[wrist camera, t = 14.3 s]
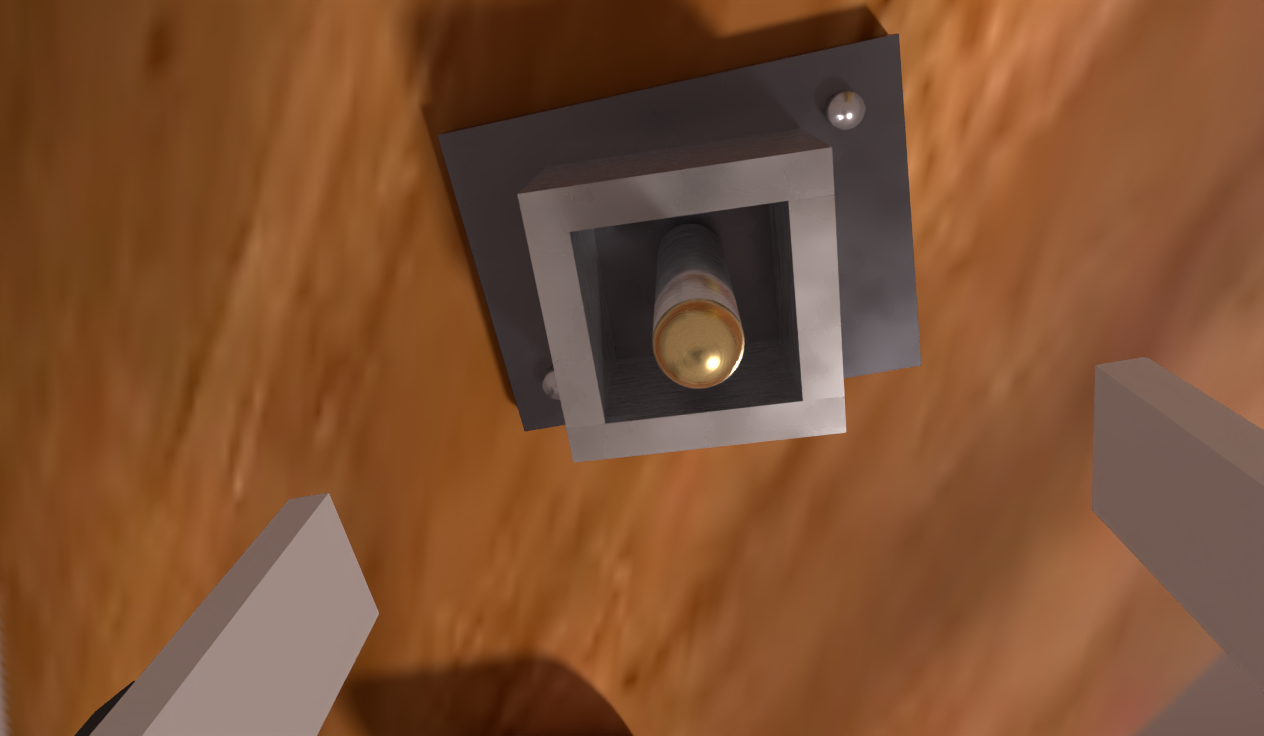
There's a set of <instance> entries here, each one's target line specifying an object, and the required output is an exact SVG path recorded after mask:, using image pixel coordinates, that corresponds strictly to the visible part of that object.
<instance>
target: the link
mask: <svg viewBox="0 0 1264 736" xmlns="http://www.w3.org/2000/svg"><path fill="white" fill-rule="evenodd" d="M517 195H518V199H519V204H520V209H521V214H522V219H523V223H524V228H525V233H526V238H527V242H528V247H529V252H530V257H531V262H532V266H533V271H534V276H535V281H536V286H537V290H538V295H539V300H540V305H541V309H542V314H543V319H544V324H545V329H546V333H547V338H548V343H549V348H550V353H551V357H552V362H553V367H554V372H555V376H556V381H557V386H558V391H559V396H560V400H561V405H562V410H563V415H564V420H565V424H566V429H567V434H568V439H569V443H570V448H571V453H572V458H573V463H574V462H583V461H592V460H601V459H610V458H619V457H628V456H637V455H646V454H655V453H664V452H673V451H683V450H692V449H701V448H710V447H719V446H728V445H737V444H746V443H755V442H764V441H773V440H782V439H791V438H800V437H809V436H818V435H827V434H836V433H845V432H846V419H845V398H844V378H843V358H842V337H841V317H840V297H839V277H838V256H837V236H836V216H835V195H834V175H833V155H832V147H831V146H829V145H828V144H826V143H824V142H823V141H821V140H819V139H818V138H816V137H814V136H813V135H811V134H809V133H808V132H806V131H805V130H803V129H801V128H798V129H792V130H785V131H779V132H772V133H766V134H759V135H752V136H746V137H739V138H733V139H726V140H720V141H713V142H707V143H700V144H693V145H687V146H680V147H674V148H667V149H661V150H654V151H647V152H641V153H634V154H628V155H621V156H615V157H608V158H601V159H595V160H588V161H582V162H575V163H569V164H562V165H555V166H549V167H546V168H545V169H544V170H542V171H541V172H540V173H539V174H538V175H537V176H536V177H535V178H534V179H533V180H532V181H531V182H530V183H529V184H528V185H527V186H526V187H524V188H523V189H522V190H521V191H520V192H519V193H518V194H517ZM768 203H769V214H770V227H771V239H772V251H773V263H774V275H775V287H776V299H777V311H778V323H779V335H780V340H774V341H765V342H757V343H749V344H745V348H744V353H743V356H742V359H741V362H740V364H739V366H738V367H737V369H736V370H735V371H734V372H733V373H732V375H731V376H729V377H728V378H727V379H726V380H724V381H723V382H721V383H719V384H717V385H715V386H712V387H708V388H689V387H685V386H682V385H679V384H678V383H676V382H674V381H673V380H671V379H670V378H668V377H667V376H666V375H665V374H664V373H663V371H662V370H661V369H660V367H659V365H658V364H657V362H656V359H655V357H654V355H653V356H645V357H637V358H629V359H620V360H616V355H615V349H614V343H613V337H612V332H611V326H610V320H609V314H608V309H607V303H606V297H605V291H604V286H603V280H602V274H601V268H600V263H599V257H598V251H597V245H596V240H595V234H594V228H600V227H607V226H614V225H621V224H628V223H635V222H642V221H649V220H656V219H663V218H670V217H677V216H684V215H691V214H698V213H705V212H712V211H719V210H726V209H733V208H740V207H747V206H754V205H761V204H768Z"/></svg>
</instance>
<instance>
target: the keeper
mask: <svg viewBox="0 0 1264 736" xmlns="http://www.w3.org/2000/svg"><path fill="white" fill-rule="evenodd" d="M798 128H801V129H803V130H805V131H806V132H808V133H809V134H811V135H813V136H814V137H816V138H818V139H819V140H821V141H823V142H824V143H826V144H828V145H829V146H831V147H832V155H833V175H834V195H835V216H836V236H837V256H838V277H839V297H840V317H841V337H842V358H843V378H848V377H854V376H860V375H866V374H872V373H878V372H884V371H890V370H896V369H902V368H908V367H914V366H920V365H921V356H920V341H919V326H918V311H917V296H916V282H915V267H914V252H913V237H912V222H911V208H910V193H909V178H908V163H907V148H906V134H905V119H904V104H903V89H902V74H901V60H900V45H899V34H888V35H884V36H879V37H875V38H870V39H866V40H861V41H857V42H852V43H847V44H843V45H838V46H834V47H829V48H825V49H820V50H816V51H811V52H807V53H802V54H798V55H793V56H789V57H784V58H779V59H775V60H770V61H766V62H761V63H757V64H752V65H748V66H743V67H739V68H734V69H730V70H725V71H721V72H716V73H712V74H707V75H702V76H698V77H693V78H689V79H684V80H680V81H675V82H671V83H666V84H662V85H657V86H653V87H648V88H644V89H639V90H634V91H630V92H625V93H621V94H616V95H612V96H607V97H603V98H598V99H594V100H589V101H585V102H580V103H576V104H571V105H566V106H562V107H557V108H553V109H548V110H544V111H539V112H535V113H530V114H526V115H521V116H517V117H512V118H508V119H503V120H499V121H494V122H489V123H485V124H480V125H476V126H471V127H467V128H462V129H458V130H453V131H449V132H445V133H442V134H440V135H437V136H438V139H439V143H440V146H441V150H442V153H443V156H444V160H445V163H446V166H447V170H448V173H449V177H450V180H451V183H452V187H453V190H454V194H455V197H456V200H457V204H458V207H459V210H460V214H461V217H462V221H463V224H464V227H465V231H466V234H467V238H468V241H469V244H470V248H471V251H472V255H473V258H474V261H475V265H476V268H477V271H478V275H479V278H480V282H481V285H482V288H483V292H484V295H485V299H486V302H487V305H488V309H489V312H490V316H491V319H492V322H493V326H494V329H495V332H496V336H497V339H498V343H499V346H500V349H501V353H502V356H503V360H504V363H505V366H506V370H507V373H508V376H509V380H510V383H511V387H512V390H513V393H514V397H515V400H516V404H517V407H518V410H519V414H520V417H521V421H522V424H523V427H524V431H530V430H536V429H542V428H548V427H554V426H560V425H566V424H565V420H564V415H563V410H562V405H561V400H560V396H559V391H558V386H557V381H556V376H555V372H554V367H553V362H552V357H551V353H550V348H549V343H548V338H547V333H546V329H545V324H544V319H543V314H542V309H541V305H540V300H539V295H538V290H537V286H536V281H535V276H534V271H533V266H532V262H531V257H530V252H529V247H528V242H527V238H526V233H525V228H524V223H523V219H522V214H521V209H520V204H519V199H518V195H517V194H518V193H519V192H520V191H521V190H522V189H523V188H524V187H526V186H527V185H528V184H529V183H530V182H531V181H532V180H533V179H534V178H535V177H536V176H537V175H538V174H539V173H540V172H541V171H542V170H544V169H545V168H546V167H549V166H555V165H562V164H569V163H575V162H582V161H588V160H595V159H601V158H608V157H615V156H621V155H628V154H634V153H641V152H647V151H654V150H661V149H667V148H674V147H680V146H687V145H693V144H700V143H707V142H713V141H720V140H726V139H733V138H739V137H746V136H752V135H759V134H766V133H772V132H779V131H785V130H792V129H798ZM594 234H595V240H596V245H597V251H598V257H599V263H600V268H601V274H602V280H603V286H604V291H605V297H606V303H607V309H608V314H609V320H610V326H611V332H612V337H613V343H614V349H615V355H616V360H620V359H629V358H637V357H645V356H653V355H654V357H655V359H656V362H657V364H658V365H659V367H660V369H661V370H662V371H663V373H664V374H665V375H666V376H667V377H668V378H670V379H671V380H673V381H674V382H676V383H678V384H679V385H682V386H685V387H689V388H708V387H712V386H715V385H717V384H719V383H721V382H723V381H724V380H726V379H727V378H728V377H729V376H731V375H732V373H733V372H734V371H735V370H736V369H737V367H738V366H739V364H740V362H741V359H742V356H743V353H744V348H745V344H749V343H757V342H765V341H774V340H780V335H779V323H778V311H777V299H776V287H775V275H774V263H773V251H772V239H771V227H770V214H769V203H768V204H761V205H754V206H747V207H740V208H733V209H726V210H719V211H712V212H705V213H698V214H691V215H684V216H677V217H670V218H663V219H656V220H649V221H642V222H635V223H628V224H621V225H614V226H607V227H600V228H594Z"/></svg>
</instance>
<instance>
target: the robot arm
mask: <svg viewBox="0 0 1264 736" xmlns="http://www.w3.org/2000/svg"><path fill="white" fill-rule="evenodd" d="M1092 511H1093V512H1094V513H1095V514H1096V515H1097V516H1098V517H1099V518H1100V519H1101V520H1102V521H1103V522H1104V523H1105V524H1106V526H1107V527H1108V528H1109V529H1110V530H1111V531H1112V532H1113V533H1114V534H1115V535H1116V536H1117V537H1118V538H1119V539H1120V540H1121V541H1122V543H1123V544H1124V545H1125V546H1126V547H1127V548H1128V549H1129V550H1130V551H1131V552H1132V553H1133V554H1134V555H1135V556H1136V557H1137V558H1138V560H1139V561H1140V562H1141V563H1142V564H1143V565H1144V566H1145V567H1146V568H1147V569H1148V570H1149V571H1150V572H1151V573H1152V574H1153V575H1154V577H1155V578H1156V579H1157V580H1158V581H1159V582H1160V583H1161V584H1162V585H1163V586H1164V587H1165V588H1166V589H1167V590H1168V591H1169V592H1170V593H1171V595H1172V596H1173V597H1174V598H1175V599H1176V600H1177V601H1178V602H1179V603H1180V604H1181V605H1182V606H1183V607H1184V608H1185V609H1186V610H1187V612H1188V613H1189V614H1190V615H1191V616H1192V617H1193V618H1194V619H1195V620H1196V621H1197V622H1198V623H1199V624H1200V625H1201V626H1202V627H1203V629H1204V630H1205V631H1206V632H1207V633H1208V634H1209V635H1210V636H1211V637H1212V638H1213V639H1214V640H1215V641H1216V642H1217V643H1218V644H1219V646H1220V647H1221V648H1222V649H1223V650H1224V651H1225V652H1226V653H1227V654H1228V655H1229V656H1230V657H1231V658H1232V659H1233V660H1234V661H1235V662H1236V663H1237V665H1238V666H1239V667H1240V668H1241V669H1242V670H1243V671H1244V672H1245V673H1246V674H1247V675H1248V676H1249V677H1250V678H1251V679H1252V681H1253V682H1254V683H1255V684H1256V685H1257V686H1258V687H1259V688H1260V689H1261V690H1262V691H1263V692H1264V430H1263V429H1261V428H1259V427H1258V426H1256V425H1255V424H1253V423H1251V422H1250V421H1248V420H1247V419H1245V418H1243V417H1242V416H1240V415H1239V414H1237V413H1235V412H1234V411H1232V410H1231V409H1229V408H1227V407H1226V406H1224V405H1222V404H1221V403H1219V402H1218V401H1216V400H1214V399H1213V398H1211V397H1210V396H1208V395H1206V394H1205V393H1203V392H1202V391H1200V390H1198V389H1197V388H1195V387H1194V386H1192V385H1190V384H1189V383H1187V382H1186V381H1184V380H1182V379H1181V378H1179V377H1178V376H1176V375H1174V374H1173V373H1171V372H1170V371H1168V370H1166V369H1165V368H1163V367H1162V366H1160V365H1158V364H1157V363H1155V362H1154V361H1152V360H1150V359H1149V358H1147V357H1142V358H1136V359H1130V360H1124V361H1118V362H1112V363H1106V364H1100V365H1095V402H1094V443H1093V484H1092ZM378 615H379V612H378V610H377V607H376V605H375V603H374V600H373V598H372V596H371V593H370V591H369V588H368V586H367V584H366V581H365V579H364V576H363V574H362V572H361V569H360V567H359V564H358V562H357V560H356V557H355V555H354V552H353V550H352V548H351V545H350V543H349V540H348V538H347V536H346V533H345V531H344V528H343V526H342V524H341V521H340V519H339V516H338V514H337V512H336V509H335V507H334V504H333V502H332V500H331V497H330V495H329V493H325V494H319V495H313V496H307V497H301V498H295V499H289V500H288V501H287V503H286V504H285V505H284V506H283V507H282V509H281V510H280V511H279V512H278V513H277V514H276V516H275V517H274V518H273V519H272V520H271V522H270V523H269V524H268V525H267V526H266V527H265V529H264V530H263V531H262V532H261V533H260V535H259V536H258V537H257V538H256V539H255V540H254V542H253V543H252V544H251V545H250V546H249V548H248V549H247V550H246V551H245V552H244V553H243V555H242V556H241V557H240V558H239V559H238V561H237V562H236V563H235V564H234V565H233V566H232V568H231V569H230V570H229V571H228V572H227V574H226V575H225V576H224V577H223V578H222V579H221V581H220V582H219V583H218V584H217V585H216V587H215V588H214V589H213V590H212V591H211V592H210V594H209V595H208V596H207V597H206V598H205V600H204V601H203V602H202V603H201V604H200V605H199V607H198V608H197V609H196V610H195V611H194V613H193V614H192V615H191V616H190V617H189V618H188V620H187V621H186V622H185V623H184V624H183V626H182V627H181V628H180V629H179V630H178V631H177V633H176V634H175V635H174V636H173V637H172V639H171V640H170V641H169V642H168V643H167V644H166V646H165V647H164V648H163V649H162V650H161V652H160V653H159V654H158V655H157V656H156V657H155V659H154V660H153V661H152V662H151V663H150V665H149V666H148V667H147V668H146V669H145V670H144V672H143V673H142V674H141V675H140V676H139V678H138V679H137V680H136V681H133V682H131V683H130V684H129V685H128V686H126V687H125V688H124V689H123V690H121V691H120V692H119V693H118V694H117V695H115V696H114V697H113V698H112V699H110V700H109V701H108V702H107V703H105V704H104V705H103V706H102V707H100V708H99V709H98V710H97V711H95V713H94V714H93V715H92V716H91V717H90V718H89V719H88V721H87V722H86V723H85V724H84V725H83V726H82V728H81V729H80V730H79V731H78V732H77V733H76V734H75V736H317V734H318V732H319V730H320V728H321V726H322V724H323V722H324V721H325V719H326V717H327V715H328V713H329V711H330V709H331V707H332V705H333V703H334V701H335V699H336V697H337V695H338V693H339V691H340V689H341V687H342V685H343V683H344V681H345V679H346V678H347V676H348V674H349V672H350V670H351V668H352V666H353V664H354V662H355V660H356V658H357V656H358V654H359V652H360V650H361V648H362V646H363V644H364V642H365V640H366V638H367V636H368V634H369V633H370V631H371V629H372V627H373V625H374V623H375V621H376V619H377V617H378Z"/></svg>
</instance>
